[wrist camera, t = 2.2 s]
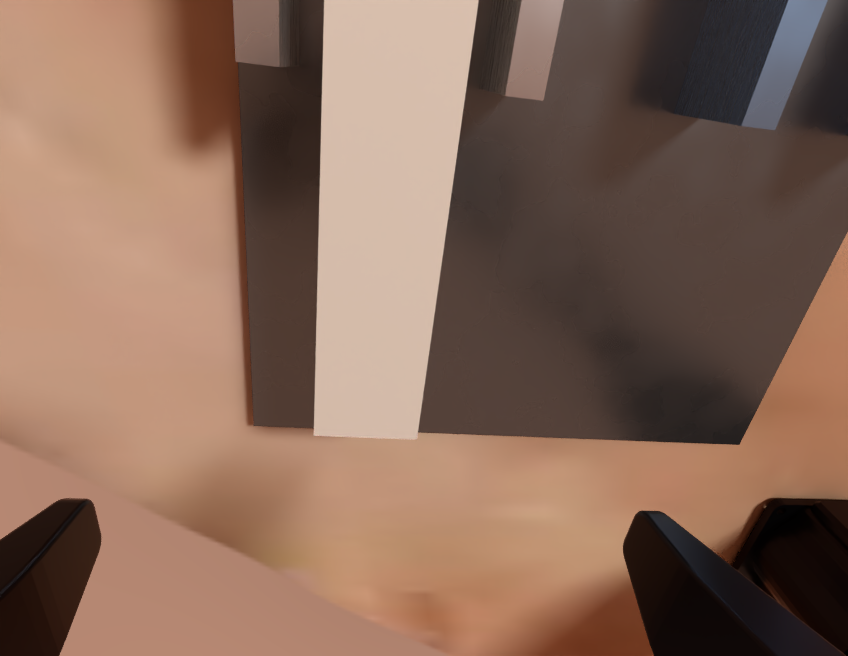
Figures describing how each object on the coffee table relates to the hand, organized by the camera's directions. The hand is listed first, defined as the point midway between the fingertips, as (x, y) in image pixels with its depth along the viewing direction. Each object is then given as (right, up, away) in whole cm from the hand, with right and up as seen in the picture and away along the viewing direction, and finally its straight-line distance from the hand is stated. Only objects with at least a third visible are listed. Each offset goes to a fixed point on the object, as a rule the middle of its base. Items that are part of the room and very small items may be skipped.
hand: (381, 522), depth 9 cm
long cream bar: (-1, +9, +8) cm, 12 cm away
